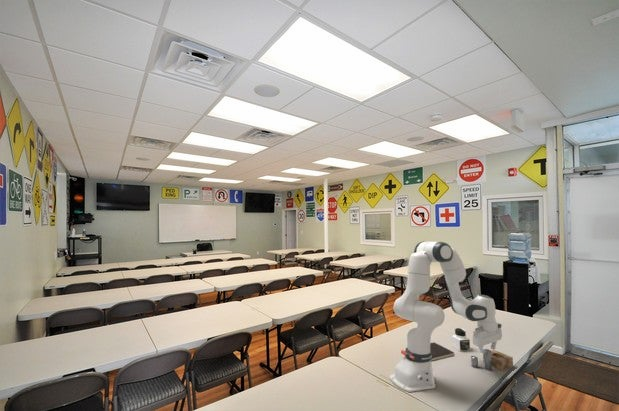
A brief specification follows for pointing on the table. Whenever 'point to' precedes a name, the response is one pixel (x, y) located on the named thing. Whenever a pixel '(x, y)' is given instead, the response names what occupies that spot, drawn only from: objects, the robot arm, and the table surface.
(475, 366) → the short pin
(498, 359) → the hole block
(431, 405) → the table surface
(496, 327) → the robot arm
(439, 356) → the hardcover book
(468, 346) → the medicine bottle
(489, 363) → the long pin
